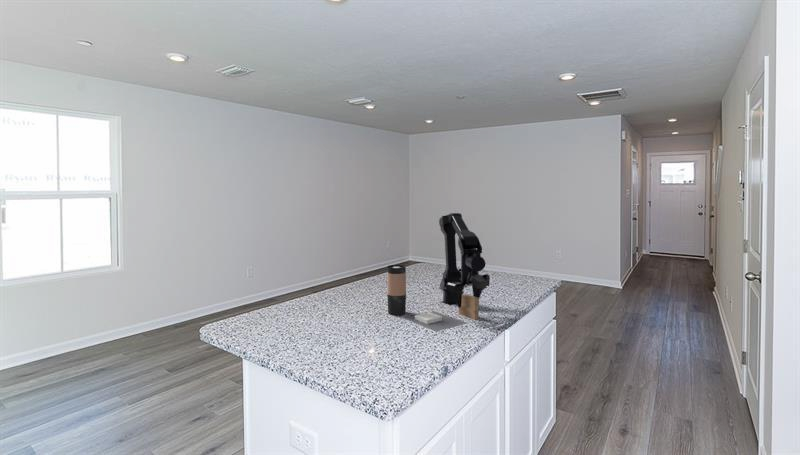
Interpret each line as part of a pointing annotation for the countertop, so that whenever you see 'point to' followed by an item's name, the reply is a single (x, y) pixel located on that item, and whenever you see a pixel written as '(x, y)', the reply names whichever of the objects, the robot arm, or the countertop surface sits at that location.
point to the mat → (440, 325)
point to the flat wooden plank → (469, 307)
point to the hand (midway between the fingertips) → (468, 305)
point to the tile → (428, 318)
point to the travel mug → (396, 289)
